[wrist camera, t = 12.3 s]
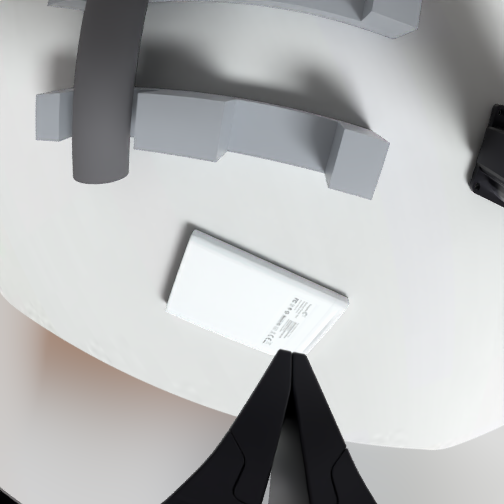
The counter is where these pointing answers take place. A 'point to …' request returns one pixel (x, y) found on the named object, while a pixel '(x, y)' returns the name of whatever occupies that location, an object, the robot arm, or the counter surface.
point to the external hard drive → (251, 298)
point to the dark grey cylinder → (105, 89)
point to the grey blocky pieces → (254, 110)
